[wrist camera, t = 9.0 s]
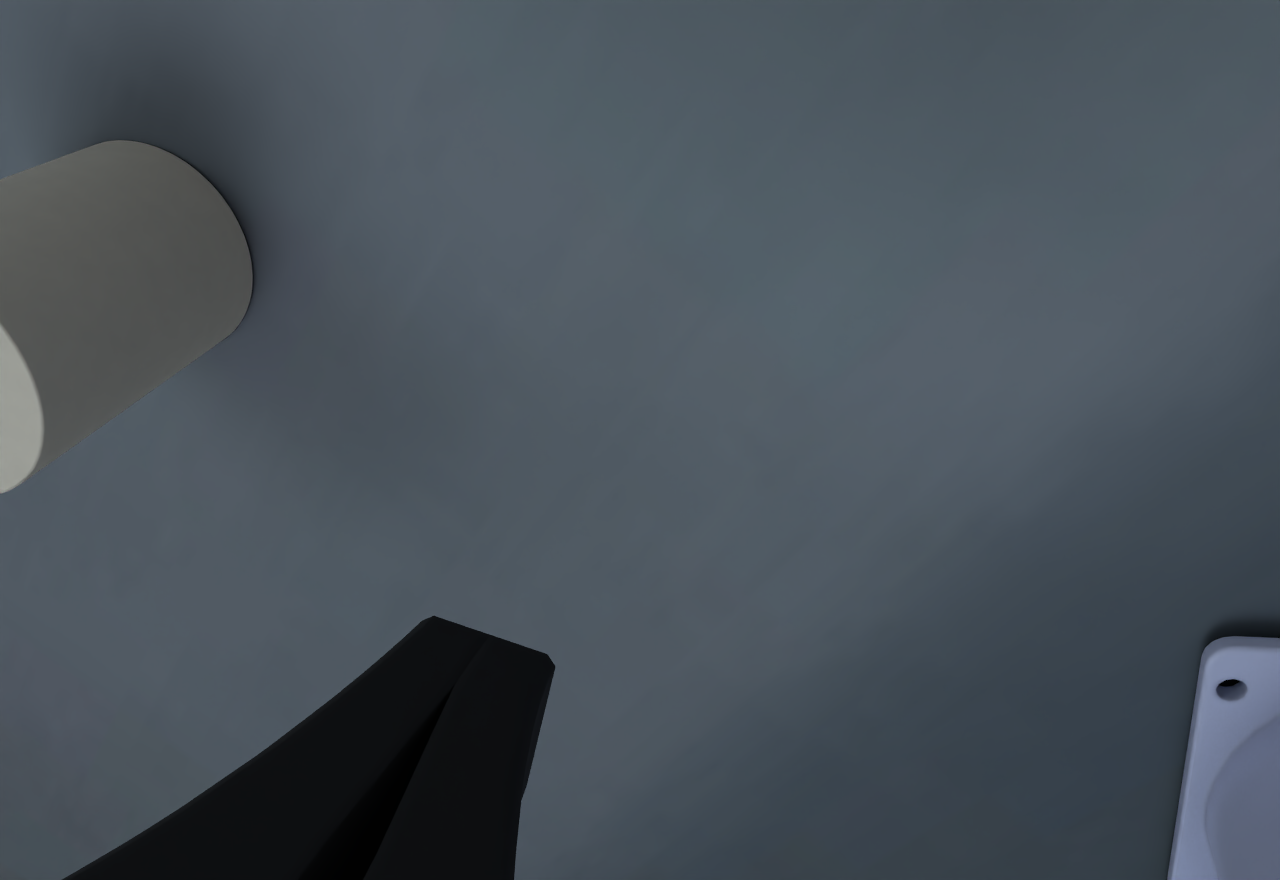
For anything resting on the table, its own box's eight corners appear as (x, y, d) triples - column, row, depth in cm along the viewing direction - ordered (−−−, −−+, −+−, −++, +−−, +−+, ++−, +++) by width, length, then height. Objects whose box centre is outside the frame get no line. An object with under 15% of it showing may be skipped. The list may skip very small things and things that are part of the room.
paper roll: (-131, 184, 15) (-265, 327, 17) (93, 432, 16) (-56, 538, 18) (142, 95, 20) (16, 212, 22) (295, 288, 21) (163, 382, 23)
